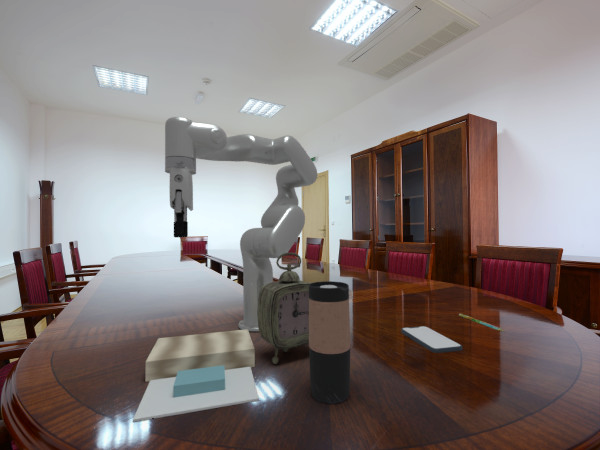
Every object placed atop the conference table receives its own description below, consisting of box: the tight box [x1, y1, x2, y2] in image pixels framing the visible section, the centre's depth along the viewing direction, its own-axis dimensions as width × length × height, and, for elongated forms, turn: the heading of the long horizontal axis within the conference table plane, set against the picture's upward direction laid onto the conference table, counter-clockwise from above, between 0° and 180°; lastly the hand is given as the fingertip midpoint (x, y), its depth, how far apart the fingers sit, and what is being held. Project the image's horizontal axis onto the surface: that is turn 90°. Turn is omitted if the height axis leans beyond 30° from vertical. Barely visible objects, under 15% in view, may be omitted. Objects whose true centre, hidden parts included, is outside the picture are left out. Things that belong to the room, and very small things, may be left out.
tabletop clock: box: [257, 252, 312, 365], centre depth 72 cm, size 14×9×25 cm, turn 122°
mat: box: [132, 367, 260, 423], centre depth 55 cm, size 20×13×1 cm, turn 106°
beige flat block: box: [145, 329, 256, 383], centre depth 69 cm, size 22×14×4 cm, turn 106°
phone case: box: [400, 325, 463, 354], centre depth 80 cm, size 9×2×16 cm
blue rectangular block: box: [173, 365, 225, 397], centre depth 56 cm, size 9×6×2 cm, turn 106°
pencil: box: [458, 313, 506, 333], centre depth 94 cm, size 1×1×18 cm
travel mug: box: [308, 280, 351, 405], centre depth 54 cm, size 8×8×20 cm
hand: (180, 237), depth 75 cm, fingers closed
